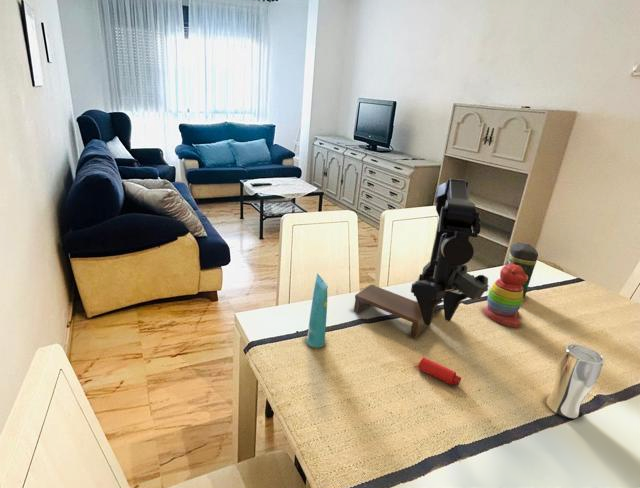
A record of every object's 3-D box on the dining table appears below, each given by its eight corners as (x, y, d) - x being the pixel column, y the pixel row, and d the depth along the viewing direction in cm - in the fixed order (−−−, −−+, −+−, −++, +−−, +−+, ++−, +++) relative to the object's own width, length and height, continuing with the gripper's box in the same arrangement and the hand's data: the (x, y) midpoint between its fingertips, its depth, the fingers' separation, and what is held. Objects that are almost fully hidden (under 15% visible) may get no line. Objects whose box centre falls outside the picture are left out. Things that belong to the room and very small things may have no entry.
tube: (329, 349, 102) (337, 284, 95) (313, 352, 100) (319, 287, 93) (317, 333, 108) (323, 272, 101) (301, 336, 107) (307, 274, 100)
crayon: (417, 370, 95) (420, 359, 94) (421, 365, 98) (424, 354, 97) (456, 390, 90) (459, 378, 89) (460, 384, 92) (463, 372, 91)
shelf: (368, 300, 127) (371, 284, 125) (428, 324, 115) (431, 307, 113) (352, 311, 120) (355, 294, 118) (414, 339, 108) (418, 321, 106)
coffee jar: (526, 303, 130) (542, 253, 124) (500, 297, 133) (514, 248, 126) (521, 290, 139) (536, 243, 132) (497, 286, 142) (510, 239, 135)
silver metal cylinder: (574, 401, 88) (597, 347, 83) (586, 424, 82) (611, 367, 77) (540, 393, 90) (560, 340, 85) (549, 414, 84) (571, 359, 79)
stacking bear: (519, 329, 115) (537, 276, 109) (482, 319, 120) (497, 267, 113) (518, 313, 124) (534, 263, 118) (483, 304, 128) (497, 255, 122)
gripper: (465, 268, 76) (450, 342, 78) (504, 265, 88) (490, 330, 90) (415, 255, 85) (403, 323, 87) (457, 254, 96) (445, 314, 99)
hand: (437, 322), depth 90 cm, fingers open, 9 cm apart
